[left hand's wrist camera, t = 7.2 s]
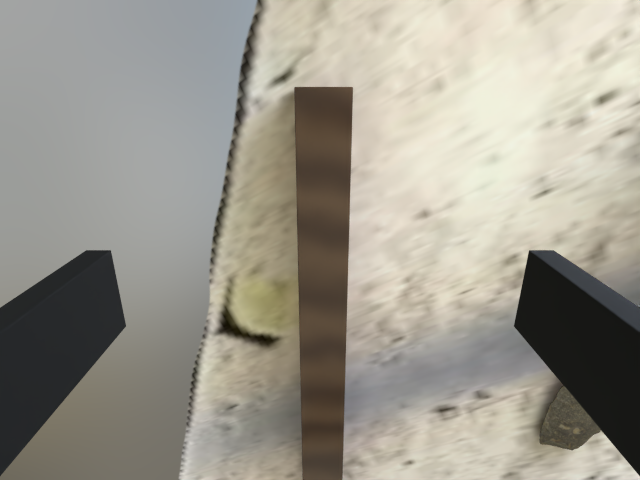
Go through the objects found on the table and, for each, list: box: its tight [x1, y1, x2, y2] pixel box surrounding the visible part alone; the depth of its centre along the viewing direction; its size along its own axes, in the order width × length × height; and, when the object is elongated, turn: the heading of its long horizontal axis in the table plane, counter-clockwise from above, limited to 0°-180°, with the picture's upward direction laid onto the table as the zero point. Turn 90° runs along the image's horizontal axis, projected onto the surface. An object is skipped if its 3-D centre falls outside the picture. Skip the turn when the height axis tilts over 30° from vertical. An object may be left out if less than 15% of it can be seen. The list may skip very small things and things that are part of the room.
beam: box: [295, 87, 353, 480], centre depth 53 cm, size 72×6×8 cm, turn 0°
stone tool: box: [540, 386, 601, 450], centre depth 58 cm, size 11×3×25 cm
